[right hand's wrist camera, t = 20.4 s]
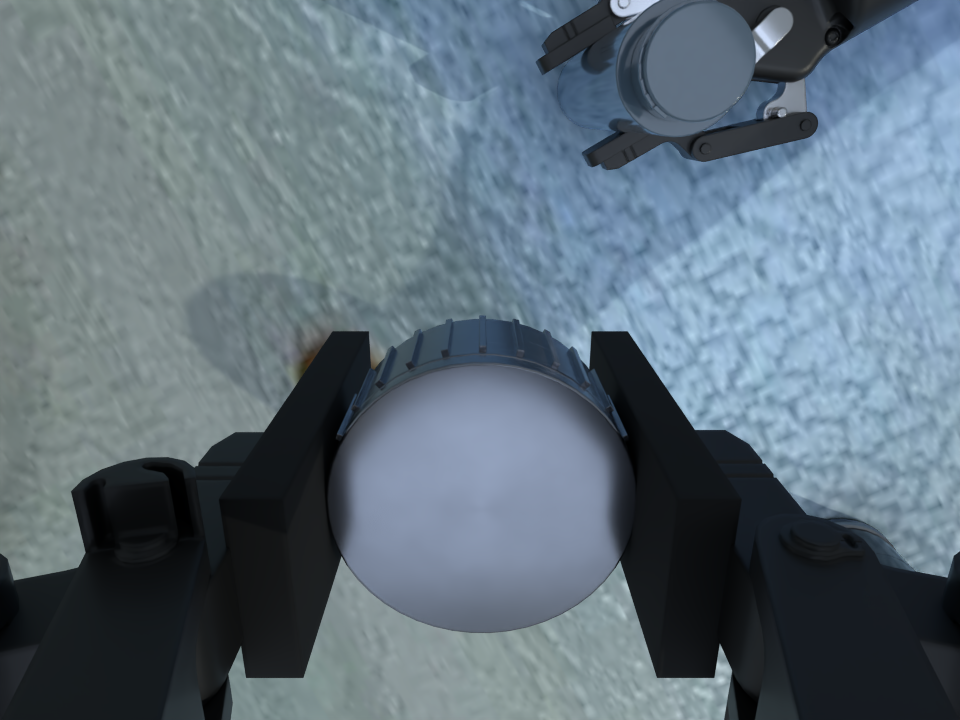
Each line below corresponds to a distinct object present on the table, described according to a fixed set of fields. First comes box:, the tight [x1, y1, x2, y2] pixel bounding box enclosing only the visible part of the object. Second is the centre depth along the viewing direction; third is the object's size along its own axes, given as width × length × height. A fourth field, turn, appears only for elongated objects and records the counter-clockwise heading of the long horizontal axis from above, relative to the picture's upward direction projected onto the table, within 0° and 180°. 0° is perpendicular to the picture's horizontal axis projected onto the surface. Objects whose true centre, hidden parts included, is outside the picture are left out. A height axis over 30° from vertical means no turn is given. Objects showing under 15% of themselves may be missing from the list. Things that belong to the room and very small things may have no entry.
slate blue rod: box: [557, 0, 756, 137], centre depth 29 cm, size 4×4×20 cm
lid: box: [326, 316, 637, 633], centre depth 11 cm, size 5×5×2 cm
